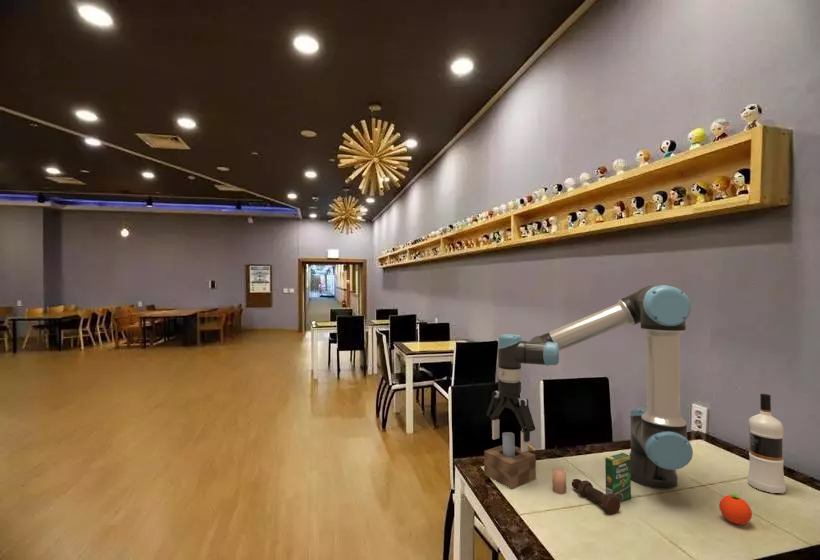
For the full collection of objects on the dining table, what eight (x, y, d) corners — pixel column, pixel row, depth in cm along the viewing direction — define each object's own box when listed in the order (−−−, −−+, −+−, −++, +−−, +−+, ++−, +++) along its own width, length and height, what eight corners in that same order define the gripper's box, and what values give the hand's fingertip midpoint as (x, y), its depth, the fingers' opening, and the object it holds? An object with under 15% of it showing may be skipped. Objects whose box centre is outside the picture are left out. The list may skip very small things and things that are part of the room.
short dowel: (568, 491, 124) (568, 472, 124) (561, 495, 122) (561, 475, 122) (557, 486, 127) (557, 467, 127) (549, 489, 125) (549, 470, 125)
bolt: (577, 494, 126) (616, 518, 112) (565, 488, 124) (604, 512, 110) (583, 476, 127) (623, 498, 113) (572, 471, 126) (611, 492, 112)
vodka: (781, 498, 120) (779, 399, 121) (742, 485, 128) (741, 392, 129) (790, 490, 125) (789, 395, 126) (753, 478, 133) (752, 388, 134)
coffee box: (612, 505, 116) (612, 460, 116) (604, 500, 119) (604, 456, 119) (631, 499, 119) (631, 455, 120) (623, 494, 122) (623, 451, 122)
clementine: (719, 510, 114) (719, 485, 114) (751, 519, 109) (751, 493, 109) (718, 523, 108) (718, 496, 108) (752, 533, 103) (752, 505, 103)
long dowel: (518, 477, 133) (516, 434, 134) (510, 480, 131) (508, 436, 131) (508, 472, 136) (507, 431, 137) (500, 475, 134) (499, 433, 135)
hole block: (535, 479, 132) (535, 455, 132) (511, 489, 125) (511, 463, 125) (508, 465, 142) (508, 443, 142) (484, 474, 135) (484, 450, 135)
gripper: (476, 374, 142) (476, 435, 141) (531, 389, 122) (531, 460, 121) (491, 372, 146) (491, 431, 146) (546, 386, 126) (546, 454, 126)
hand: (509, 444), depth 133 cm, fingers open, 12 cm apart
